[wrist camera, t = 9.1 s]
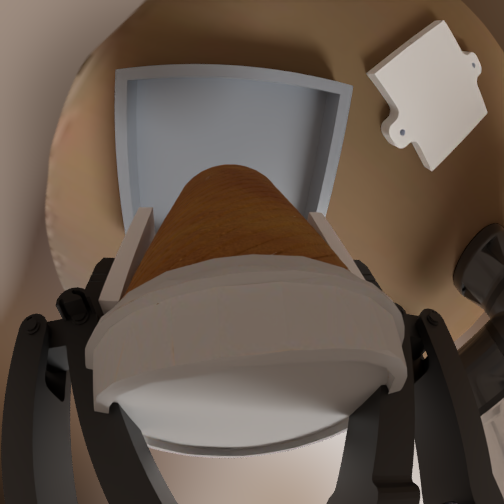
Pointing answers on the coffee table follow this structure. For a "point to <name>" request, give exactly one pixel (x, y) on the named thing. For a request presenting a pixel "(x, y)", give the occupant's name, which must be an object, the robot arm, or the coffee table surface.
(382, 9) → the coffee table surface
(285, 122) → the slate tray
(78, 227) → the coffee table surface
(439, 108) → the mounting plate
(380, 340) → the disposable coffee cup
